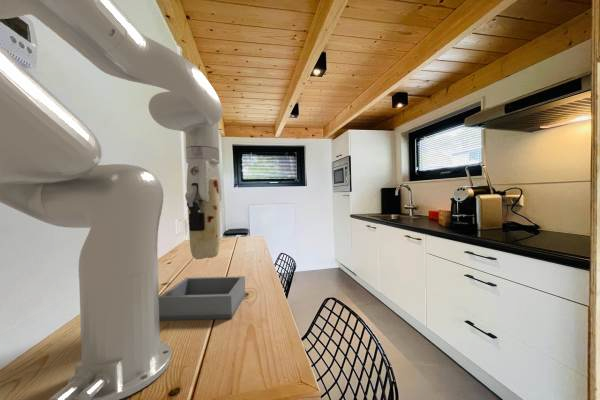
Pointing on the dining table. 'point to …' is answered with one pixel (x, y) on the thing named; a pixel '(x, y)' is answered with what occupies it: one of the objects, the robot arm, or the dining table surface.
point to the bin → (202, 298)
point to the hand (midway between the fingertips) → (205, 227)
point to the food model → (207, 226)
